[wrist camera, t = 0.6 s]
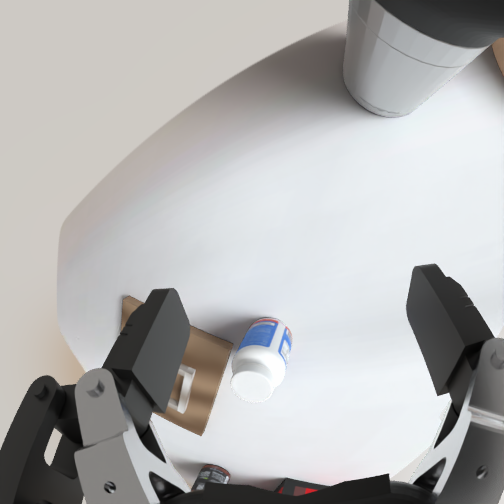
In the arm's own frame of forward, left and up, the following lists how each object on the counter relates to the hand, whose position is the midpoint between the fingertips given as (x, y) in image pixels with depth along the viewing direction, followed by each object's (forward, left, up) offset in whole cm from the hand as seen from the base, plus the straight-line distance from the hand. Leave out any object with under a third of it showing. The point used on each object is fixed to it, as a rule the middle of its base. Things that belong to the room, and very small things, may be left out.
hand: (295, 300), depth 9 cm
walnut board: (+27, -12, -21) cm, 37 cm away
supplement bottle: (+50, +1, -21) cm, 55 cm away
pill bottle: (+14, 0, -21) cm, 26 cm away
